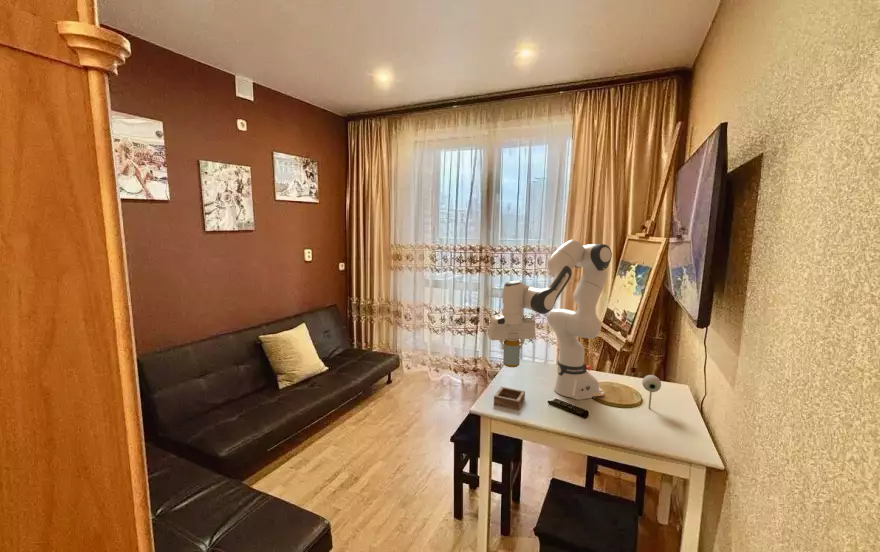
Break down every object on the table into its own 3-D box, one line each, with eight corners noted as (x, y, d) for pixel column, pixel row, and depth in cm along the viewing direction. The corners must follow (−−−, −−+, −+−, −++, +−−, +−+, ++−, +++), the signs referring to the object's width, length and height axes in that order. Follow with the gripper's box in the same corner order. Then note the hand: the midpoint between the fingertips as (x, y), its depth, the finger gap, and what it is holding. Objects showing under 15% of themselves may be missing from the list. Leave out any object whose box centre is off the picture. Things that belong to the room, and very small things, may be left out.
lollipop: (641, 410, 163) (644, 377, 161) (639, 403, 170) (642, 371, 168) (659, 413, 161) (663, 380, 159) (657, 406, 167) (660, 373, 165)
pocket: (501, 394, 177) (501, 386, 177) (524, 399, 173) (524, 391, 172) (493, 404, 168) (494, 396, 167) (518, 410, 163) (518, 401, 162)
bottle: (522, 364, 168) (523, 331, 166) (514, 369, 163) (515, 335, 161) (508, 360, 172) (509, 328, 170) (500, 365, 167) (500, 332, 165)
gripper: (532, 315, 169) (531, 345, 171) (487, 316, 166) (487, 347, 168) (538, 318, 163) (537, 349, 165) (491, 320, 160) (491, 352, 162)
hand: (511, 348), depth 167 cm, fingers closed on bottle, 6 cm apart
